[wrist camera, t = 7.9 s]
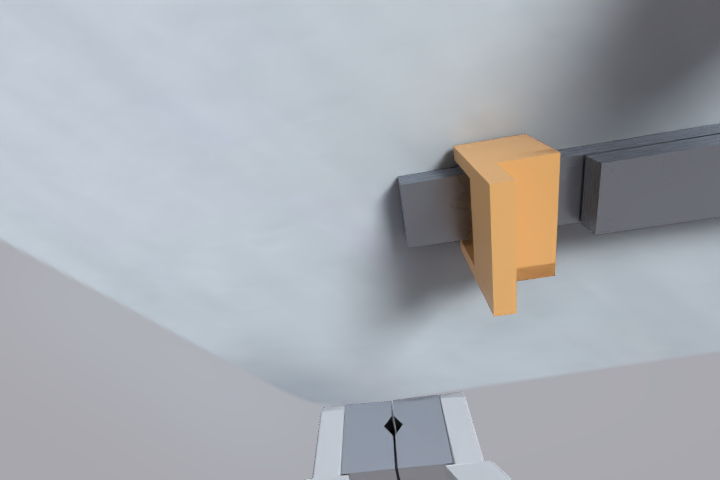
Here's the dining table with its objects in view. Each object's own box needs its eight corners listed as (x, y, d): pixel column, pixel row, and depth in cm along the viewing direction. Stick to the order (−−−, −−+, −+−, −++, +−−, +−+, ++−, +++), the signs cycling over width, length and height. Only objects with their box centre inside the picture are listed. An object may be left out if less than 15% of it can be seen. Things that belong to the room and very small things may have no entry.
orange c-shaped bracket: (460, 249, 19) (494, 316, 14) (453, 146, 17) (489, 184, 12) (524, 239, 19) (579, 304, 14) (525, 133, 17) (590, 168, 12)
